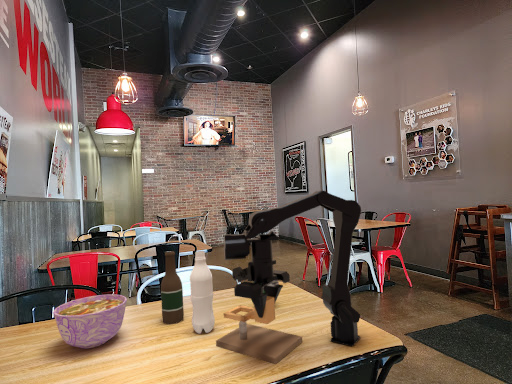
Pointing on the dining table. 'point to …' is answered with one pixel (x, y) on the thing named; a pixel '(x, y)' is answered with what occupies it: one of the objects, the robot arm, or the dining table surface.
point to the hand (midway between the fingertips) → (265, 314)
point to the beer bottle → (171, 293)
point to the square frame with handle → (253, 312)
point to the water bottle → (202, 295)
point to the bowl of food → (90, 319)
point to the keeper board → (259, 342)
